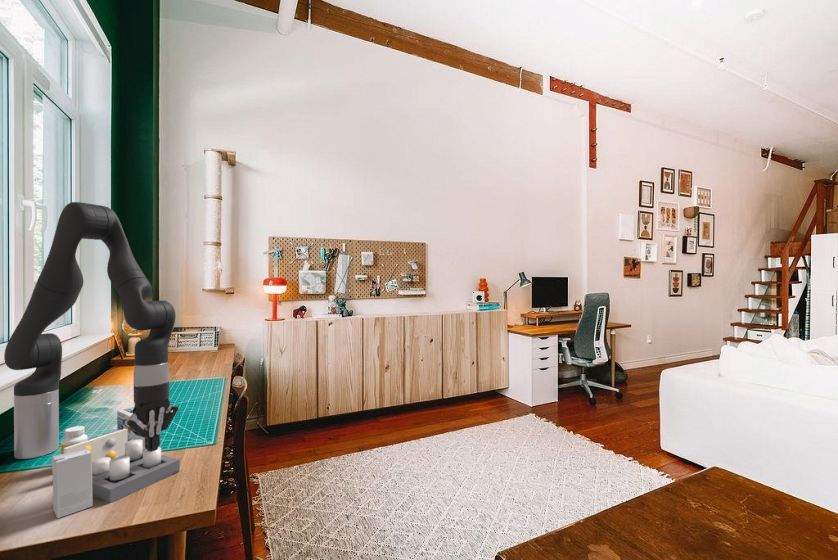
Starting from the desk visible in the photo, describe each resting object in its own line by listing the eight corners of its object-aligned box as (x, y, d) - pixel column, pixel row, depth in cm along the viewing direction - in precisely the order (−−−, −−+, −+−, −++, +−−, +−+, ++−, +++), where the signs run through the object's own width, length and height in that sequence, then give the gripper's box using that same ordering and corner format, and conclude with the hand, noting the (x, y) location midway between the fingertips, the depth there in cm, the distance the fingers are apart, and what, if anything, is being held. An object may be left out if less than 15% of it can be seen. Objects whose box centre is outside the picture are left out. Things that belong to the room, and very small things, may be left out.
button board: (70, 487, 97) (70, 474, 97) (140, 459, 111) (140, 448, 111) (110, 503, 90) (110, 489, 90) (179, 471, 105) (179, 459, 104)
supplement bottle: (72, 471, 104) (72, 433, 104) (55, 469, 106) (55, 431, 105) (93, 462, 110) (92, 425, 110) (76, 460, 111) (76, 424, 111)
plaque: (63, 480, 100) (63, 448, 100) (125, 457, 112) (125, 428, 112) (66, 481, 99) (66, 449, 99) (128, 458, 112) (128, 429, 112)
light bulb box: (116, 447, 119) (116, 410, 119) (142, 439, 125) (142, 404, 125) (131, 456, 113) (131, 417, 113) (158, 448, 119) (158, 411, 119)
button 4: (139, 467, 101) (139, 451, 101) (154, 461, 105) (154, 445, 105) (149, 470, 100) (149, 454, 100) (164, 463, 103) (164, 448, 103)
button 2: (105, 478, 95) (105, 461, 95) (123, 471, 98) (123, 455, 98) (115, 481, 93) (115, 464, 93) (133, 474, 97) (133, 458, 96)
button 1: (87, 478, 98) (87, 462, 98) (105, 471, 101) (105, 456, 101) (96, 482, 96) (96, 465, 96) (114, 474, 100) (114, 459, 100)
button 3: (121, 459, 105) (121, 443, 105) (136, 453, 108) (136, 438, 108) (130, 461, 103) (130, 446, 103) (145, 455, 106) (145, 441, 106)
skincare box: (88, 500, 91) (88, 445, 91) (93, 507, 88) (93, 451, 88) (51, 512, 87) (51, 455, 86) (55, 520, 84) (55, 461, 84)
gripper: (167, 373, 110) (168, 438, 110) (113, 385, 98) (114, 458, 98) (186, 376, 107) (187, 442, 107) (133, 389, 95) (133, 464, 95)
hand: (152, 450), depth 102 cm, fingers closed
